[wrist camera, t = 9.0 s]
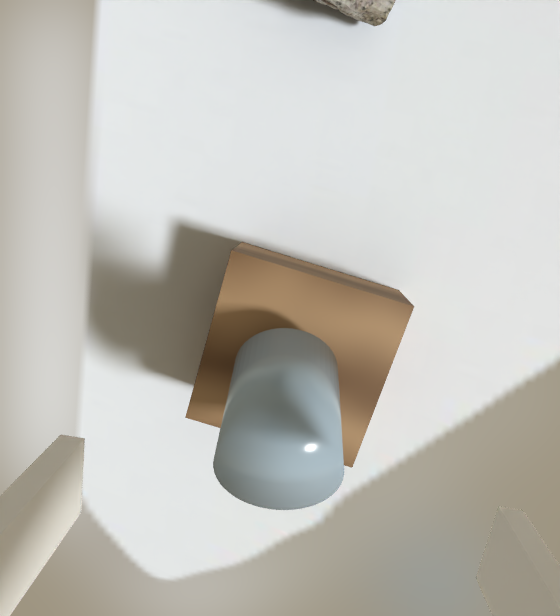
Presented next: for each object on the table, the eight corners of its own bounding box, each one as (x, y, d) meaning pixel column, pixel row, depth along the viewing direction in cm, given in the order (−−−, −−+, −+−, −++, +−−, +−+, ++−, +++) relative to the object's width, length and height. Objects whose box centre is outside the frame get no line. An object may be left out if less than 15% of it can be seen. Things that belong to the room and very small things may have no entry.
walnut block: (242, 241, 32) (231, 250, 27) (397, 289, 32) (414, 306, 27) (202, 385, 34) (185, 417, 30) (345, 429, 35) (352, 467, 30)
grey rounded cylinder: (217, 344, 27) (190, 443, 21) (317, 315, 25) (317, 412, 19) (259, 415, 30) (246, 518, 24) (351, 392, 28) (360, 497, 22)
